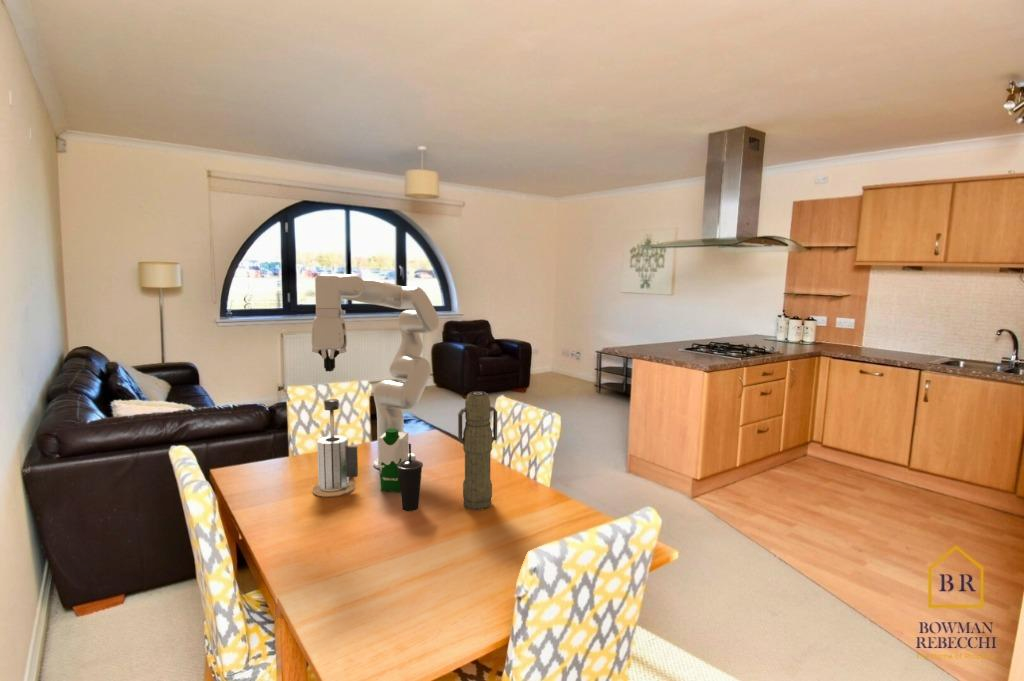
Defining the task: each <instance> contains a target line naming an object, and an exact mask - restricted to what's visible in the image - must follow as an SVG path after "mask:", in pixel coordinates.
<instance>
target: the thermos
mask: <svg viewBox="0 0 1024 681" xmlns="http://www.w3.org/2000/svg"><path fill="white" fill-rule="evenodd" d="M464 403H465V407H464V408H461V409H460V410H459V412H458V413H457V417H458V418H457V420H458V421H457V423H458V424H457V425H458V426H457V432H458V433H457V434H458V435H457V436H458V437H457V440H458V441H459V442H460V443H461V444H463V445H462V446H463V447H462V448H463V452H464V480H463V483H462V488H463V489H462V498H463V507H464V508H465V509H467V510H471V511H482V509H484V510H487V509H489V508H490V507H491V506H492V497H493V483H492V481H491V452H492V450H493V443H494V441H497V439H498V411H497V409H496V408H495V407H494V406H491V400H490V398H489V394H488V393H487V392H485V391H481V390H480V391H478V390H476V391H475V390H474V391H471V392H469V393H468V394H467V396H466V399H465V402H464ZM491 412H492V415H493V416H492V417H493V418H492V420H493V421H492V422H493V423H492V427H491V421H490V419H491ZM464 413H465V416H464V417H465V422H464V423H465V425H464V426H465V427H464V429H463V415H464ZM492 428H493V429H492ZM488 507H489V508H488ZM486 508H487V509H486Z"/></svg>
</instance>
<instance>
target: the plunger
mask: <svg viewBox="0 0 1024 681" xmlns="http://www.w3.org/2000/svg"><path fill="white" fill-rule="evenodd" d="M323 406H324V407H323V408H324V411H329V426H330V428H329V429H330V431H329V432H330V434H329V435H330V436H331V442H333V441H335V437H334V435H335V411H337V410H339V409H340V401H339V399H335V398H333V399H332V398H330V399H325V400H324V401H323Z"/></svg>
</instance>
